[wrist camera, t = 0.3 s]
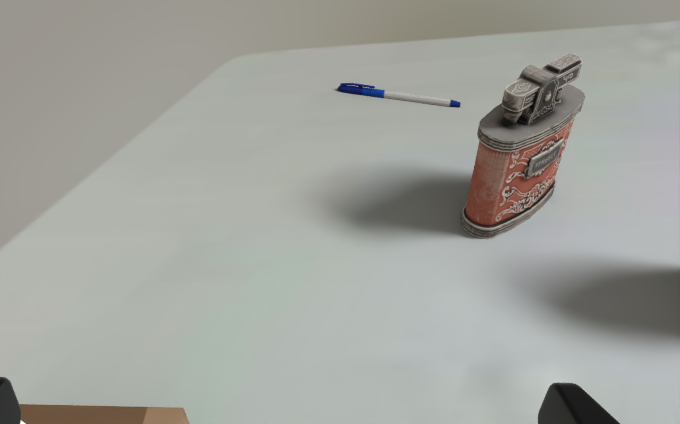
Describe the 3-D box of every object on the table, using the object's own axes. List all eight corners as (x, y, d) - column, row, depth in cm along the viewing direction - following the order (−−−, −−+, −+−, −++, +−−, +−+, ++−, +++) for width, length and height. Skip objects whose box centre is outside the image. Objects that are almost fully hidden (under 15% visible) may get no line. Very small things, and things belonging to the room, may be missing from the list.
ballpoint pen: (337, 95, 48) (336, 85, 47) (339, 90, 49) (339, 80, 48) (459, 110, 46) (461, 100, 45) (460, 104, 47) (461, 94, 46)
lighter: (489, 247, 34) (525, 108, 27) (448, 218, 36) (472, 81, 29) (564, 192, 38) (613, 58, 31) (523, 169, 40) (560, 37, 33)
